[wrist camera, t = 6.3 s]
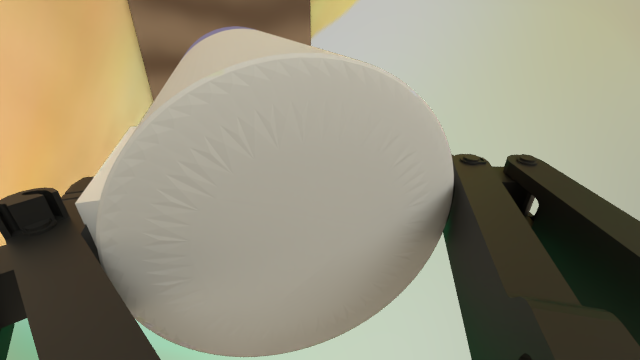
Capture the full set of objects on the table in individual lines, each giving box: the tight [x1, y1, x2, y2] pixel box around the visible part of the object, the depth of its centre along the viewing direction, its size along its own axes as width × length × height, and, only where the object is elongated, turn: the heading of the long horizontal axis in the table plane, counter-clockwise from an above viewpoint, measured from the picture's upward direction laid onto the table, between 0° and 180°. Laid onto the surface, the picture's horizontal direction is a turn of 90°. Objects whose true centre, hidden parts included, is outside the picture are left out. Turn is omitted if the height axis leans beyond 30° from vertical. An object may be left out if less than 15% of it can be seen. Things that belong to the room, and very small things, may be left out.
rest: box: [128, 0, 311, 100], centre depth 32 cm, size 18×18×8 cm
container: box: [96, 26, 454, 357], centre depth 17 cm, size 10×10×20 cm
